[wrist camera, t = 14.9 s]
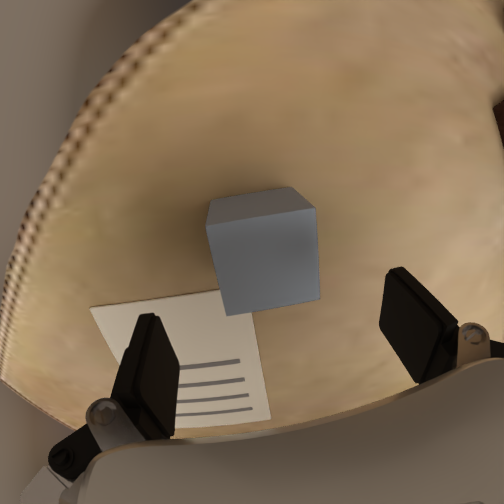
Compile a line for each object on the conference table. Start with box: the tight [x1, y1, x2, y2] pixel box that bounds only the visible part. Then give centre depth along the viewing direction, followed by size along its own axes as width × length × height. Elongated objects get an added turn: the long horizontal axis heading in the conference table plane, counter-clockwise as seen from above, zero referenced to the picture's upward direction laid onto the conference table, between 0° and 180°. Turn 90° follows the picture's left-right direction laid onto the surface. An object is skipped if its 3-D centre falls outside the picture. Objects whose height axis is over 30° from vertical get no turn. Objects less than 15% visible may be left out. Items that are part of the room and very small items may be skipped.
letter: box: [89, 289, 271, 428], centre depth 27 cm, size 15×21×1 cm
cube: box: [205, 187, 320, 316], centre depth 19 cm, size 6×6×6 cm
